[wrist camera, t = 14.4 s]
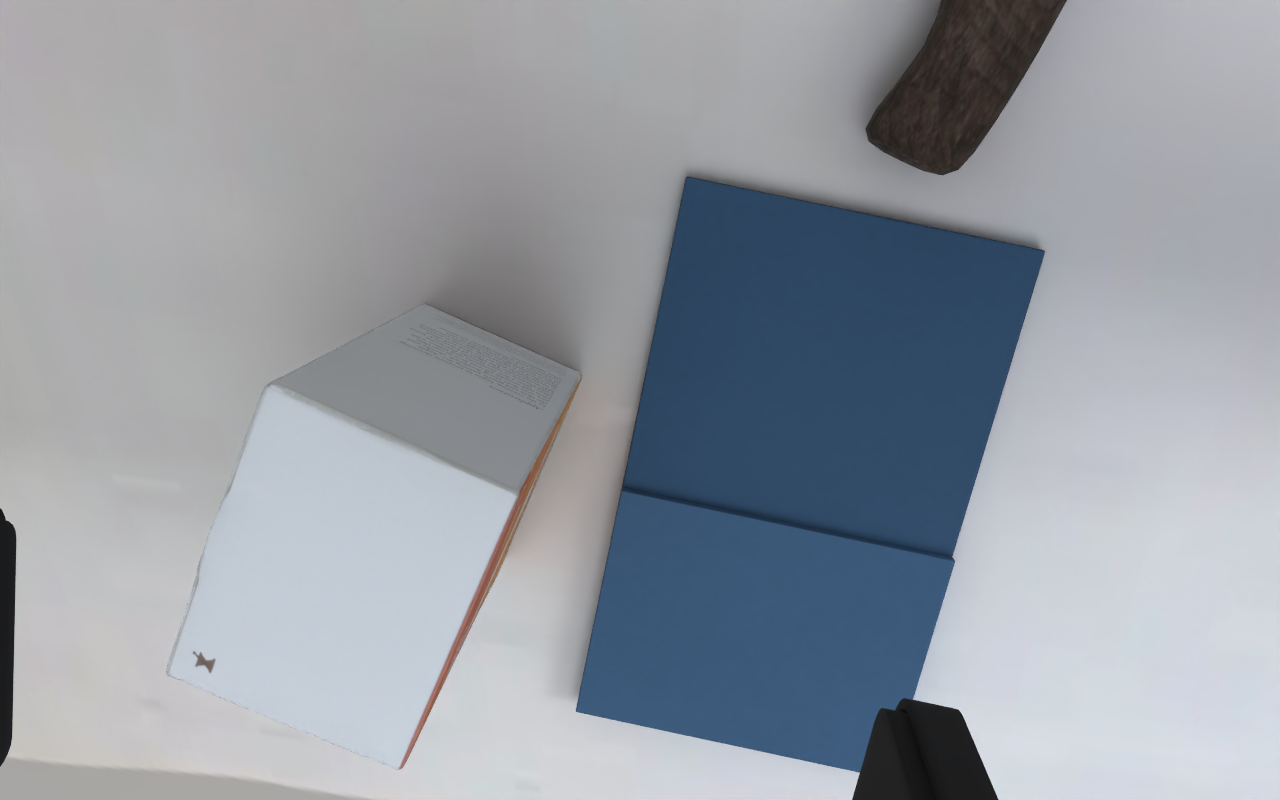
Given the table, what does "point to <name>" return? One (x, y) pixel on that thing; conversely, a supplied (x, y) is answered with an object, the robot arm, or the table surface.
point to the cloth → (799, 470)
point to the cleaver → (960, 80)
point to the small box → (369, 528)
